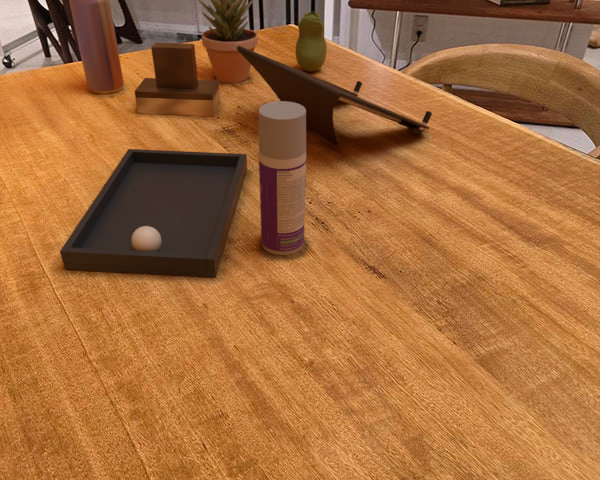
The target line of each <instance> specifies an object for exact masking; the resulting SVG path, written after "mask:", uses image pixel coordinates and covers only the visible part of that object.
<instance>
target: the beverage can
mask: <svg viewBox="0 0 600 480" xmlns="http://www.w3.org/2000/svg"><path fill="white" fill-rule="evenodd" d="M110 1H111V0H68V2H69V7H70V11H71V16H72V20H73V26H74V31H75V35H76V40H77V44H78V45H77V46H78V48H79V49H78V50H79V54H80V58H81V63H82V69H83V72H84V73H83V74H84V76H85V81H86V82H85V83H86V87H87V88H88V89H89V91H90V92H92V93H93V94H97V95H109V94H115V93H117V92H120V91H121V90H122V89H123V87H124V84H125V82H124V76H123V69H122V65H121V58H120V54H119V47H118V42H117V36H116V30H115V24H114V18H113V13H112V12H113V11H112V7H111V2H110Z"/></svg>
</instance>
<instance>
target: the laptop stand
mask: <svg viewBox="0 0 600 480" xmlns="http://www.w3.org/2000/svg"><path fill="white" fill-rule="evenodd" d="M237 50H238V51H239V52H240V53H241V54H242V55H243V56H244V57H245V59H246V60H247V61H248V62H249V63H250V64H251V67H253V68H254V69H255V71H256V72H257V73H258V74H259V76H260V77H261V78H262V79H263V80H264V82H266V84H267V85H268V86H269V87H270V89H271V90H272V92H273V93H274V94H275V96H276V98H278V99H279V101H287V102H294V103H297V104H300V105H302V106H303V107H305V109H306V130H308V131H310V132H313V133H314V134H316V135H318V136H319V137H320V138H322V139H323V140H325V141H327V142H328V143H330V144H331V145H333V146H334V147H338V146H339V145H340V142H339V139H338V136H337V134H336V129H335V127H334V109H335V106H336V104H337V102H338V101H339V102H342V103H345V104H347V105H350V106H353V107H355V108H357V109H360V110H362V111H365V112H368V113H371V114H373V115H376V116H378V117H381V118H383V119H386V120H389V121H392V122H394V123H397V124H398V125H400V126H403V127H406V128H407V130H408V131H411V132H412V133H415V134H417V135H419V136H422V134H423V130H424V129H427V130H429V129H430V127H429V126H428V124H429V121H430V119H431V117H432V115H433V113H432V111H429V110H427V111H426V112H425V114H424V115H423V118H422V120H421V122H418V121H416V120H414V119H412V118H409V117H407V116H404V115H402V114H399V113H397V112H395V111H393V110H390V109H387V108H385V107H382V106H380V105H378V104H375V103H372V102H370V101H368V100H366V99H364V98H361V97H359V93H360V90H361V89H362V85H363V82H362V81H360V80H357V81H356V83H355V86H354V88H353V91H350V90H348V89H346V88H344V87H341V86H339V85H337V84H335V83H332V82H330V81H327V80H325V79H322V78H320V77H317V76H315V75H312V74H310V73H307V72H306V71H304V70H301V69H298V68H295V67H293V66H290V65H288V64H286V63H283V62H280V61H278V60H275V59H273V58H271V57H269V56H266V55H263V54H261V53H258V52H256V51H254V52H253V51H251V50H248V49H246V48H244V47H241V46H237Z"/></svg>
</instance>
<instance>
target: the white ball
mask: <svg viewBox="0 0 600 480" xmlns="http://www.w3.org/2000/svg"><path fill="white" fill-rule="evenodd" d="M131 242H132V246H133V248H134V249H135V250H136V251H148V252H157V251H158V250H159V248H160V246H161V236H160V234H159V232H158V231H157V230H156V229H155V228H153V227H150V226H142V227H140V228H138V229H136V230H135V232H134V233H133V235H132V239H131Z"/></svg>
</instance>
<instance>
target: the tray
mask: <svg viewBox="0 0 600 480" xmlns="http://www.w3.org/2000/svg"><path fill="white" fill-rule="evenodd" d="M247 172H248V155H247V153H229V152H208V151H207V152H205V151H183V150H161V149H142V148H141V149H139V148H138V149H137V148H135V149H134V148H127V151H125V153H124V155H123V157H122V158H121V159H120V160H119V162H118V163H117V165H116V167H115V168H114V169H113V171H112V173H111V174H110V176H109V177H108V178H107V180H106V182H105V183H104V184H103V186H102V187H101V189H100V191H99V192H98V194H97V195H96V197H95V198H94V199H93V201H92V203H91V204H90V205H89V207H88V208H87V210H86V212H85V213H84V215H83V216H82V217H81V219H80V220H79V222H78V224H76V227H75V228H74V229H73V230H72V233H71V234H70V235H69V237H68V238H67V240H66V241H65V243H64V245H63V246H61V249H60V250H59V254H60V257H61V261H62V264H63V266H64V267H63V268H64V270H67V271H68V270H69V271H83V272H85V271H86V272H105V273H121V274H123V273H124V274H141V275H142V274H143V275H162V276H178V277H179V276H181V277H196V278H197V277H199V278H217V275H218V272H219V268H220V264H221V261H222V257H223V254H224V251H225V249H226V248H225V247H226V244H227V241H228V238H229V234H230V230H231V227H232V224H233V220H234V217H235V213H236V210H237V206H238V203H239V200H240V197H241V194H242V193H241V192H242V190H243V186H244V182H245V180H246V176H247ZM142 226H150V227H153V228H155V229H156V230H157V231H158V232H159V234H160V236H161V246H160V248H159V250H158V251H157V252H148V251H136V250H135V249H134V248H133V246H132V242H131V239H132V235H133V233H134V232H135V230H136V229H138V228H140V227H142Z"/></svg>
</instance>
